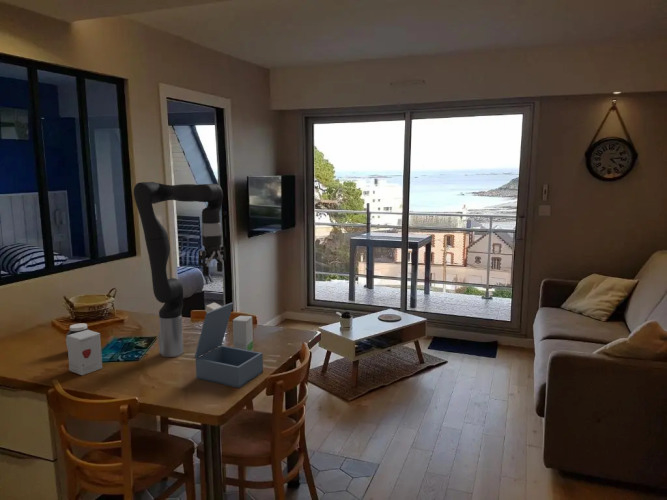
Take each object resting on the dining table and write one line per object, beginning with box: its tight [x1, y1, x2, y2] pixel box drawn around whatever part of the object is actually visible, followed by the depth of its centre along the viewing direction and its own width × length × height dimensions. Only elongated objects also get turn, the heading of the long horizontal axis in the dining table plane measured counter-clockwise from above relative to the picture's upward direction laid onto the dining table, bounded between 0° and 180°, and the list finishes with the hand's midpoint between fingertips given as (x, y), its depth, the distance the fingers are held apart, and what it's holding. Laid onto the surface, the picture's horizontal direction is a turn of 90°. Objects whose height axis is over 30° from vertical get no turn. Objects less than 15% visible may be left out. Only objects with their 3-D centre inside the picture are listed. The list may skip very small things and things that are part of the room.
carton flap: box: [194, 302, 234, 360], centre depth 187 cm, size 20×16×5 cm
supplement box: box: [66, 329, 103, 376], centre depth 190 cm, size 9×9×15 cm
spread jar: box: [65, 322, 90, 350], centre depth 209 cm, size 12×11×12 cm
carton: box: [195, 344, 264, 389], centre depth 186 cm, size 20×16×8 cm
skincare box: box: [232, 315, 254, 351], centre depth 210 cm, size 8×7×16 cm
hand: (213, 273), depth 193 cm, fingers open, 8 cm apart
